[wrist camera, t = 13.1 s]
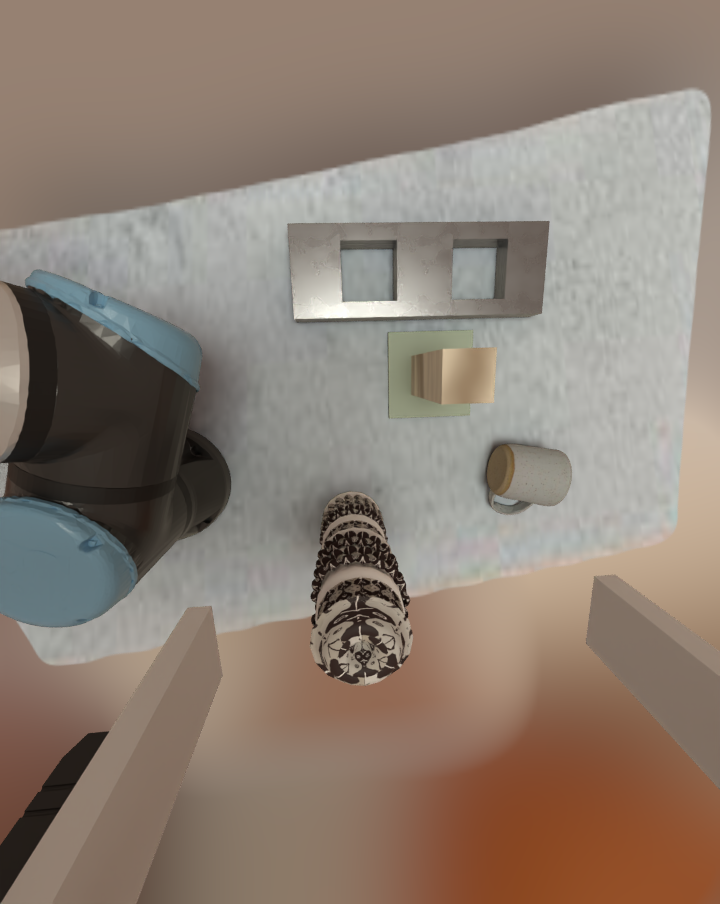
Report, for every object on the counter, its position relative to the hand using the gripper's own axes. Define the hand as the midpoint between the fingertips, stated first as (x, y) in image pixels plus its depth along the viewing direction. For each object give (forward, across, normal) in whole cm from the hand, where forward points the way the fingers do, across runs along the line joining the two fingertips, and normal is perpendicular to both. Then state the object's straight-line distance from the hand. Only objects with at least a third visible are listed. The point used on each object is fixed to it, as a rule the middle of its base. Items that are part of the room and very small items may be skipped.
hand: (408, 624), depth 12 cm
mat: (+36, -10, -8) cm, 39 cm away
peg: (+36, -10, -8) cm, 38 cm away
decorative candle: (+37, +1, +12) cm, 39 cm away
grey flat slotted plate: (+37, -8, -20) cm, 42 cm away
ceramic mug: (+37, -22, +7) cm, 44 cm away
